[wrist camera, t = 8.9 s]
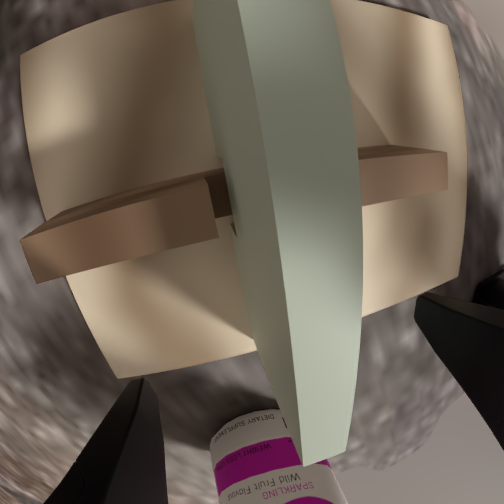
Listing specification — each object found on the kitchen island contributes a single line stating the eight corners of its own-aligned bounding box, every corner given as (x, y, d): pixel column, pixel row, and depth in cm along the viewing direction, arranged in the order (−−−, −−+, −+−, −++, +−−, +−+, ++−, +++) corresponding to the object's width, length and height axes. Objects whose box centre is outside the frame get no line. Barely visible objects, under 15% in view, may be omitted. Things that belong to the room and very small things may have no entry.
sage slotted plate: (192, 17, 9) (211, -110, 2) (229, 13, 9) (288, -106, 2) (253, 339, 15) (303, 467, 8) (281, 331, 16) (345, 451, 8)
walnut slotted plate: (390, 144, 13) (447, 152, 9) (392, 174, 14) (447, 189, 10) (61, 211, 11) (19, 240, 7) (72, 244, 11) (36, 283, 8)
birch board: (437, 27, 12) (447, 25, 11) (449, 271, 19) (457, 276, 18) (28, 59, 8) (19, 55, 8) (119, 367, 15) (117, 378, 15)
